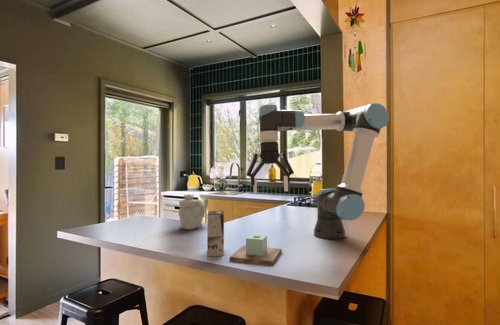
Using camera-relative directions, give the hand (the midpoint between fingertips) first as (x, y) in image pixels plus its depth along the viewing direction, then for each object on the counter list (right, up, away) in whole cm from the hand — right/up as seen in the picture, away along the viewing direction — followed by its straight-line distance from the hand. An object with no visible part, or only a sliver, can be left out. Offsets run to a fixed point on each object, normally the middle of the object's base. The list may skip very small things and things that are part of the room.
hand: (270, 192), depth 126 cm
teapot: (-40, -24, +41) cm, 62 cm away
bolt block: (-6, -23, -12) cm, 27 cm away
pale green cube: (-6, -22, -12) cm, 26 cm away
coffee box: (-22, -24, -7) cm, 33 cm away
